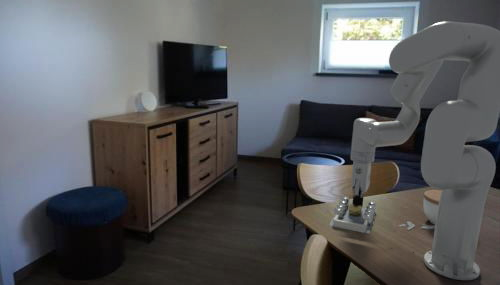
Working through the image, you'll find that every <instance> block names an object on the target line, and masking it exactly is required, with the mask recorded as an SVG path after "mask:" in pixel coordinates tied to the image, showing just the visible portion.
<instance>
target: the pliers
mask: <svg viewBox="0 0 500 285" xmlns="http://www.w3.org/2000/svg"><path fill="white" fill-rule="evenodd" d="M407 226H408V227H407ZM398 227H399V228H402V227H403V228H404V227H406V231H410V230H412V229H413V228H415V227H416V225H415V224H414V223H413V222H412V221H409V220H408V221H406V224H405V223H402V224H400V225H398ZM420 229H421V230H433V229H434V230H435V224H433V225H429V224H422V223H421V227H420Z"/></svg>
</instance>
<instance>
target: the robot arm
mask: <svg viewBox="0 0 500 285" xmlns="http://www.w3.org/2000/svg"><path fill="white" fill-rule="evenodd" d="M389 54H390V55H389V58H388V64H389V68H390V69H391V71H393V72H394V73H396V74H397V76H396V78H395V80H394V81H393V84H392V85H391V88H390V91H389V92H390V95H391V96H392V98H393V99H395V101H397V102H398V103H400V104H402V106H401V110H400V112H399V113H398V114H397V117H396V118H395V120H393V121H391V120H390V121H377V119H374V118H369V117H359V118H356V119H354V121H353V126H352V127H353V128H352V129H353V130H352V138H351V149H350V157H349V158H350V160H351V161H353V162H352V163H353V164H352V171H351V182H350V189H351V191H353V196H352V203H355V204H360V205H361V206H362V207H363V204H364V193H366V192H367V191H368V189H369V187H370V183H371V181H370V180H371V171H372V163H374V162H375V154H376V148H379V147H381V148H382V147H390V146H398V145H399V146H400V145H402V144H404V143H406V142H407V141H408V140H409V138H410V137H411V136H412V134H413V133H414V131H415V130H416V128H418V127H417V126H418V125H419V122H420V117H421V106H420V101H421V100H422V98H423V97H424V95H425V94H426V93H425V92H426V91H427V89H428V88H429V86H430V85H431V83H432V82H433V80H434V79H435V77H436V75H437V74H438V72H439V71H440V69H441V67H442V65H443V63H444V61H453V62H454V61H455V62H458V61H459V62H462V61H463V62H468V63H469V65H468V67H467V68H466V70H464V73H463V75H462V77H461V79H460V82H459V89H458V90H459V91H458V95H457V99H456V100H447V101H444V102H441V103H440V104H438V105H436V106H435V107H434V108H433V109H432V110H431V112H430V114H429V115H428V118H427V120H426V126H425V131H424V139H423V146H422V154H421V159H420V172H421V176H422V178H423V180H424V181H425V183H426V184H427V185H428V186H430V187H431V188H432V189H433V188H434V189H435V190H442V192H441V195H440V200H439V205H438V212H437V218H436V225H435V224H434V225H435V228H434V231H433V238H432V247H431V250H429V251H426V252H425V253H424V255H423V259H422V260H423V263H424V264H425V266H426V267H428V269H429V270H431V271H433V272H435V273H436V274H438V275H440V276H442V277H445V278H449V279H452V280H458V281H472V280H476V279H478V278H479V276H480V274H481V268H480V267H479V265H478V264H477V263H476V262H475V260H476V259H475V258H476V254H477V248H478V242H479V238H480V237H479V236H480V231H481V225H482V220H483V215H484V209H485V204H486V200H487V196H488V193H489V190H490V188H491V185H492V183H493V180H494V178H495V174H496V168H497V166H496V161H495V159H494V156H493V155H492V153H491V152H490V151H488V150H487V149H486V148H484V147H482V146H478V145H471V144H466V143H469V142H470V143H471V142H478V141H483V140H487V139H489V138H491V136H493V135H494V133H495V131H496V129H497V127H498V123H499V122H498V121H499V116H500V30H499V29H497V28H495V27H493V26H489V25H487V24H481V23H475V22H459V21H448V20H447V21H440V22H436V23H434V24H432V25H429V26H428V27H425V28H423V29H422V30H419V31H418V32H417V31H416V33H413V34H412V35H409V36H408V37H405V38H404V39H402V40H401V41H400V42H397V44H395V46H393V48H392V50H391V51H390V53H389ZM465 144H466V145H465ZM352 203H351V204H352Z"/></svg>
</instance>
